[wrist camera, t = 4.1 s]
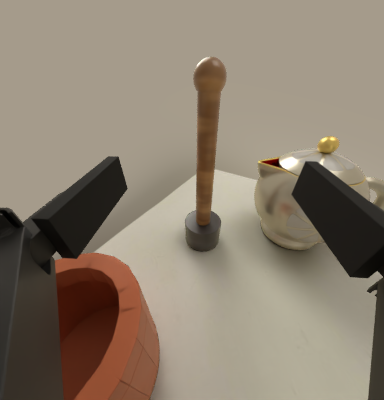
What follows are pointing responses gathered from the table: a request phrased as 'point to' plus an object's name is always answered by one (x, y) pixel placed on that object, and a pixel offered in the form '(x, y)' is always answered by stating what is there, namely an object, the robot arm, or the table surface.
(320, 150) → the teapot
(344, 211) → the robot arm
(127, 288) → the jar
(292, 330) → the table surface
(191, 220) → the brush
